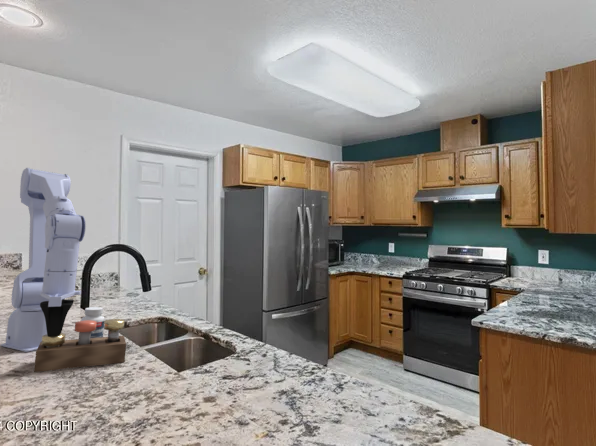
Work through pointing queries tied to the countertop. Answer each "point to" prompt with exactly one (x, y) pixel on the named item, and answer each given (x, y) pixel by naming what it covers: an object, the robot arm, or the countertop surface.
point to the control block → (80, 354)
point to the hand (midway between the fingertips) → (54, 335)
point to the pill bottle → (95, 315)
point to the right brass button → (113, 329)
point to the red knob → (85, 331)
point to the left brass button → (53, 340)
